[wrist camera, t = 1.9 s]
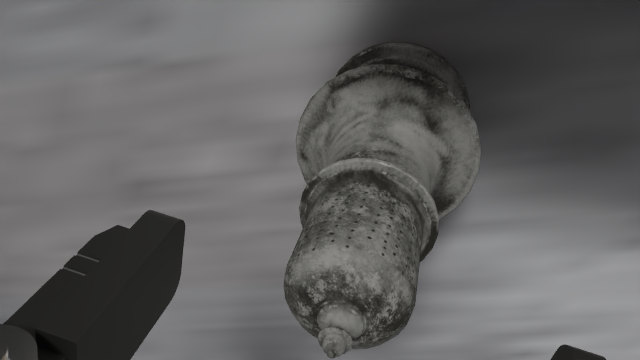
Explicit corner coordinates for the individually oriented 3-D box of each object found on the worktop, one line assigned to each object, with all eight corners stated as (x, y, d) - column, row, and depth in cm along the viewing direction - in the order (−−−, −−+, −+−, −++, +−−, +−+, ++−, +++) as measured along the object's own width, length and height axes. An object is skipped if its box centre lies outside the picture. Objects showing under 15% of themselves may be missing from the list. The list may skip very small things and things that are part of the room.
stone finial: (351, 7, 19) (220, 169, 9) (509, 73, 19) (566, 316, 8) (300, 146, 22) (160, 386, 12) (434, 203, 22) (412, 495, 12)
